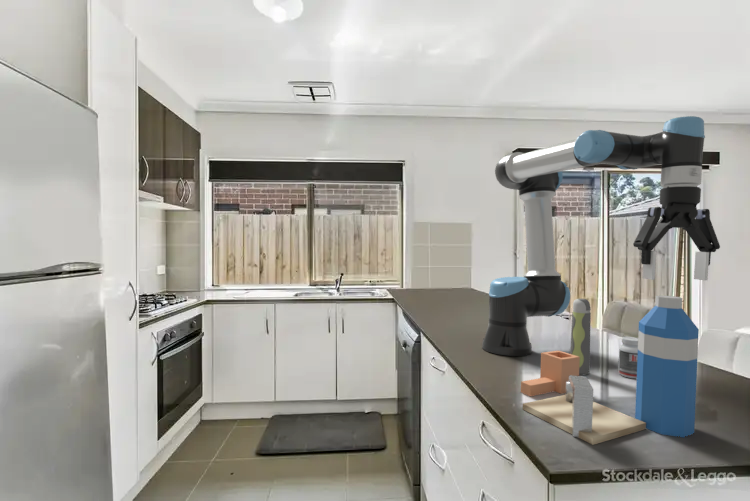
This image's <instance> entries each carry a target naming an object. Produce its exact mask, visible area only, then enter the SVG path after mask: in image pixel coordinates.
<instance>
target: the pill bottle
mask: <svg viewBox="0 0 750 501" xmlns="http://www.w3.org/2000/svg"><path fill="white" fill-rule="evenodd" d="M621 343H622V344H621V345H620V346H619V348H618V368H617V372H618V374H619V376H622V377H624V378H629V379H635V380H637V357H638V337H633V336H622V337H621Z"/></svg>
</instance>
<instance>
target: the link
mask: <svg viewBox="0 0 750 501" xmlns="http://www.w3.org/2000/svg"><path fill="white" fill-rule="evenodd" d="M579 362H580V357H578V356H575V355H572V354H570V352H569V353H568V352H564V351H562V350H551V351H545V352H541V353H540V373H539V374H540V377H539V378H534V379H533V378H532V379H527V380H523V381H520V393H522V394H524V395H525V396H529V397H534V396H539V395H545V394H549V393H558V394H560V395H564V394H566V381H568V380H569V376H570V375H573V376H580V375H579Z"/></svg>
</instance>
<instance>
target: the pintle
mask: <svg viewBox="0 0 750 501" xmlns="http://www.w3.org/2000/svg"><path fill="white" fill-rule="evenodd" d="M565 395H566V398H565V400H566V401H567V402H570V403H573V390H572V387H571V385H570V376H569V380H568V381H566V393H565Z"/></svg>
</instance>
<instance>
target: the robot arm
mask: <svg viewBox="0 0 750 501" xmlns="http://www.w3.org/2000/svg"><path fill="white" fill-rule="evenodd" d="M662 128H663V129H662V131H661V132H658V133H653V134H649V135H645V136H643V135H633V134H627V133H626V134H625V133H619V132H615V131H614V132H612V131H606V130H602V129H597V130H596V129H588V130H585V131H583V132H582V133H581V134H580V135H578V136H577V138H576V139H572V140H568V141H565V142H562V143H557V144H553V145H549V146H546V147H542V148H539V149H535V150H532V151H529V152H521V151H515V152H511V153H508V154H505V155H504V156H502V157H500V159H499V160H498V161H497V163H496V165H495V169H494V172H495V173H494V174H495V178H496V181H497V182H498V183H499V184H500V185H501V186H503V187H504V188H506V189H509V190H516V191H517V190H518V194H519V195H518V197H519V199H520V200H522V202H524V203H523V204H524V222H525V239H526V258H527V259H526V260H527V262H526V263H527V272H525V273H524V275H523V276H504V277H499V278H495V279H493V280H492V281H491V282H490V287H489V291H488V295H489V305H488V306H489V307H488V325H487V328H486V332H485V334H484V338H483V339H482V350H484V351H486V352H489V353H492V354H496V355H500V356H508V357H510V356H511V357H521V356H522V357H523V356H528V355H531V354H532V343H531V342H530V336H529V332H528V329H527V320H528V318H531V317H533V318H535V317H552V316H558V315H561V314H563V313H564V312H565V311H566V310H567V309H568V307H569V304H570V301H571V292H570V288H569V287H568V286H567V283H566V282H564V281H563V280H562V275H561V274H560V273H559V272H558V271H557V270H556V259H555V240H554V224H553V209H552V207H553V206H552V200H553V198H554V197H555V196H556V195H557V194H556V193H557V192H556V191H557V190H558V189H559V188H560V187H561V183H562V182H563V175H564V174H563V172H565V171H571V170H576V169H580V168H585V167H591V166H597V165H611V166H617V167H618V169H619V170H620V169H621V170H623V171H624V170H633V171H634V170H638V169H640V168H641V169H642V168H647V167H654V166H660V165H661V168H660V169H661V170H660V171H661V172H660V184H659V185H660V187H662V188H661V189H660V190H659V200H658V201H659V204H660V205H661V206H652V207H649V208H648V209H647V215H646V218H645V220H644V222H643V224H642V225H641V228H640V229H639V231H638V234H637V236H636V237H635V239H634V242H633V247H634V248H637V249H638V251H641V255H640V256H641V257H640V258H641V259H640V263H641V265H642V277H641V278H642V279H643V280H644V279H645V280H651V281H653V280H654V281H655V280H656V264H657V262H656V261H657V250H654V248H655V247H657V245H658V244H659V243H660V241H661V240H662V239H663V238H664V236H666V234H667V233H668V231H670V230H671V229H675V228H676V229H682V230H684V231H686V233H687V234H688V236H689V238H690V239H691V240H692V242H693V244H694V245H695V246H696V248H697V250H698V251H695V254H694V271H693V272H694V273H693V279H694V280H697V281H698V280H699V281H708V279H709V278H708V276H709V266H710V265H711V258H712V257H711V255H712V253H715V252H717V250H720V248H721V245H720V242H719V239H718V237H717V235H716V232H715V229H714V225H713V223H712V220H711V215H710V214H711V213H710V209H709V208H701V209H698V207H697V205H698V204H700V202H701V196H702V195H701V193H702V189H701V188H700V185H702V175H703V174H702V172H703V157H704V156H703V155H704V153H703V152H704V146H705V144H704V143H705V138H706V134H705V121H704V119H703V118H701V117H699V116H695V115H693V116H692V115H690V116H689V115H688V116H687V115H686V116H679V117H675V118H670V119H669V120H666V121H665V122H664V123H663V127H662ZM660 218H661V219H660Z"/></svg>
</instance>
